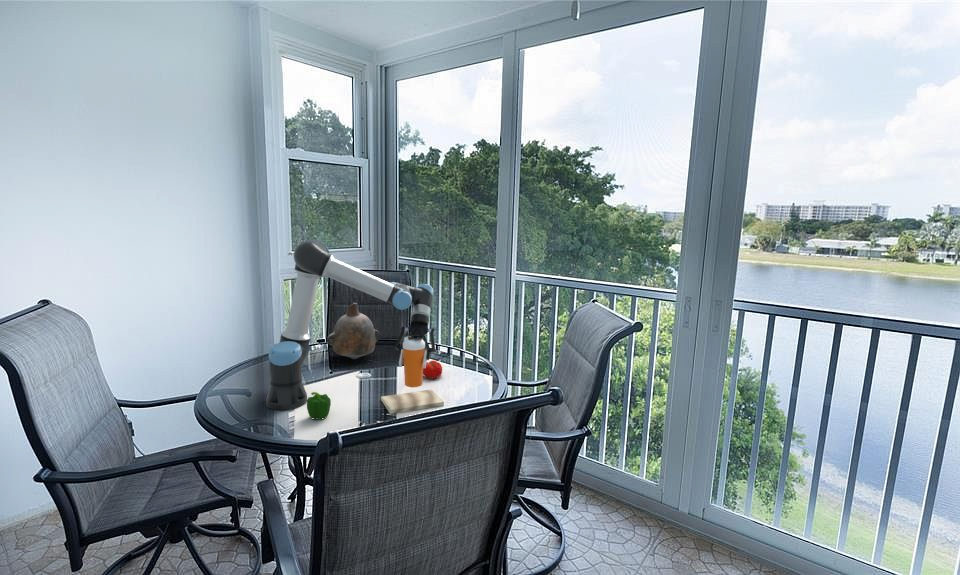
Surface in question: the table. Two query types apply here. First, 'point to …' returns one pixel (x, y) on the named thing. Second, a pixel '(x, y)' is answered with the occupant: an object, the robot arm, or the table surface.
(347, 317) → the jug
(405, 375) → the shaker bottle
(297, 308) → the robot arm
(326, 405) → the bell pepper
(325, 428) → the table surface
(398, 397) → the oak board
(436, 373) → the tomato
